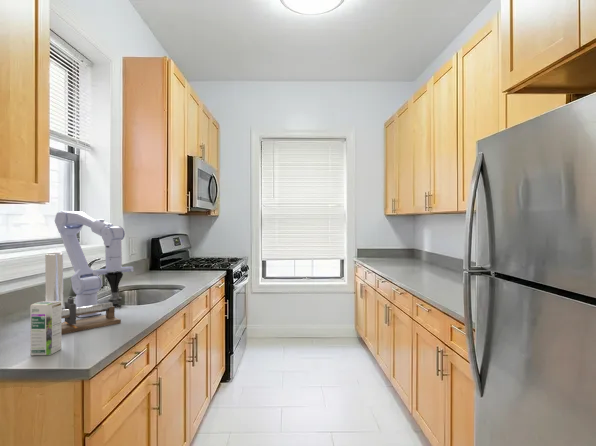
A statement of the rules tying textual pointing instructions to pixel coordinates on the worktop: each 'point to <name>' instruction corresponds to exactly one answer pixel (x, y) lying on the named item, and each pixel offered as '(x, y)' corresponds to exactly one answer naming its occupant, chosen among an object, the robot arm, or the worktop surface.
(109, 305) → the pipe stand
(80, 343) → the worktop surface
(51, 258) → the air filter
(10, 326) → the worktop surface
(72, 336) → the worktop surface
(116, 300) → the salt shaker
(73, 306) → the grey pipe bracket
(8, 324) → the worktop surface
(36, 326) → the syrup box
